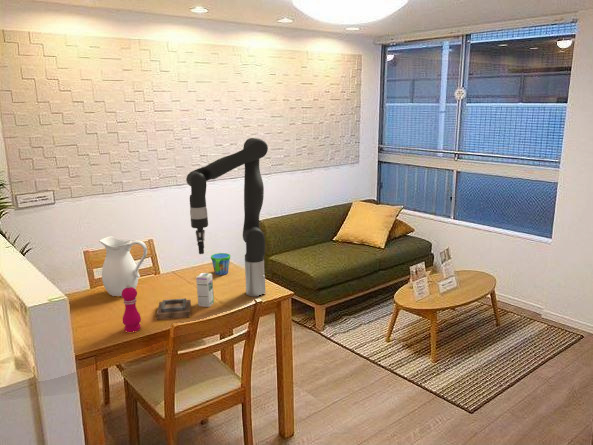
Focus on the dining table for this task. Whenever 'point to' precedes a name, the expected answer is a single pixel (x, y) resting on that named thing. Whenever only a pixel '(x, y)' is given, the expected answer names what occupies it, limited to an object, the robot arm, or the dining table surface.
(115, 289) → the pitcher
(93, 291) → the dining table surface
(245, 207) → the robot arm
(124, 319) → the pepper mill
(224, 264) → the snack cup
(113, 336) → the dining table surface
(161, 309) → the plinth
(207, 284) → the syrup box
